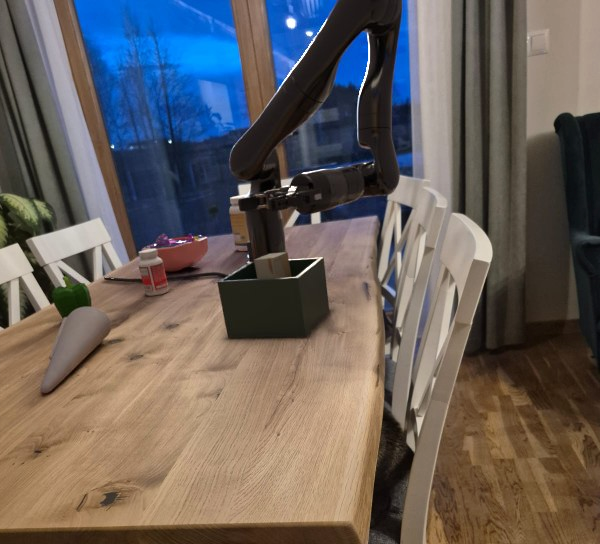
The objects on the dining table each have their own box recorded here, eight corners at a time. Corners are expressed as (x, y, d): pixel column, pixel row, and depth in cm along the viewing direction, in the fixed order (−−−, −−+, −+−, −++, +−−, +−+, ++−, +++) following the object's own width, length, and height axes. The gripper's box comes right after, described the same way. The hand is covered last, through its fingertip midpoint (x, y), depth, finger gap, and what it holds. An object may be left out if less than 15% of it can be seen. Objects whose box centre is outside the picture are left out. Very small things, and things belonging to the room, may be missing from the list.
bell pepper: (93, 321, 134) (81, 278, 129) (57, 327, 133) (43, 284, 129) (98, 311, 141) (87, 271, 137) (64, 317, 140) (52, 276, 136)
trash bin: (227, 338, 109) (217, 281, 104) (258, 312, 122) (250, 261, 118) (305, 337, 104) (298, 277, 99) (329, 310, 117) (323, 257, 112)
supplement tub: (257, 252, 188) (248, 197, 181) (228, 252, 194) (219, 199, 187) (278, 243, 197) (271, 191, 190) (250, 244, 203) (242, 193, 196)
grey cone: (85, 362, 92) (105, 303, 114) (29, 371, 91) (60, 309, 113) (98, 403, 96) (115, 339, 118) (45, 412, 95) (72, 345, 117)
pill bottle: (171, 288, 154) (161, 246, 150) (167, 294, 149) (157, 251, 144) (148, 291, 155) (138, 250, 150) (143, 297, 149) (132, 254, 144)
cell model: (222, 265, 175) (215, 226, 171) (160, 280, 166) (151, 240, 161) (198, 259, 188) (191, 224, 184) (140, 273, 179) (131, 236, 174)
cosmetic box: (284, 322, 109) (272, 257, 105) (264, 323, 111) (252, 259, 107) (299, 313, 114) (288, 250, 110) (279, 314, 116) (268, 252, 112)
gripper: (292, 171, 115) (226, 184, 106) (344, 168, 105) (277, 182, 96) (296, 210, 118) (233, 226, 109) (347, 211, 108) (283, 228, 99)
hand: (254, 205), depth 102 cm, fingers open, 8 cm apart
